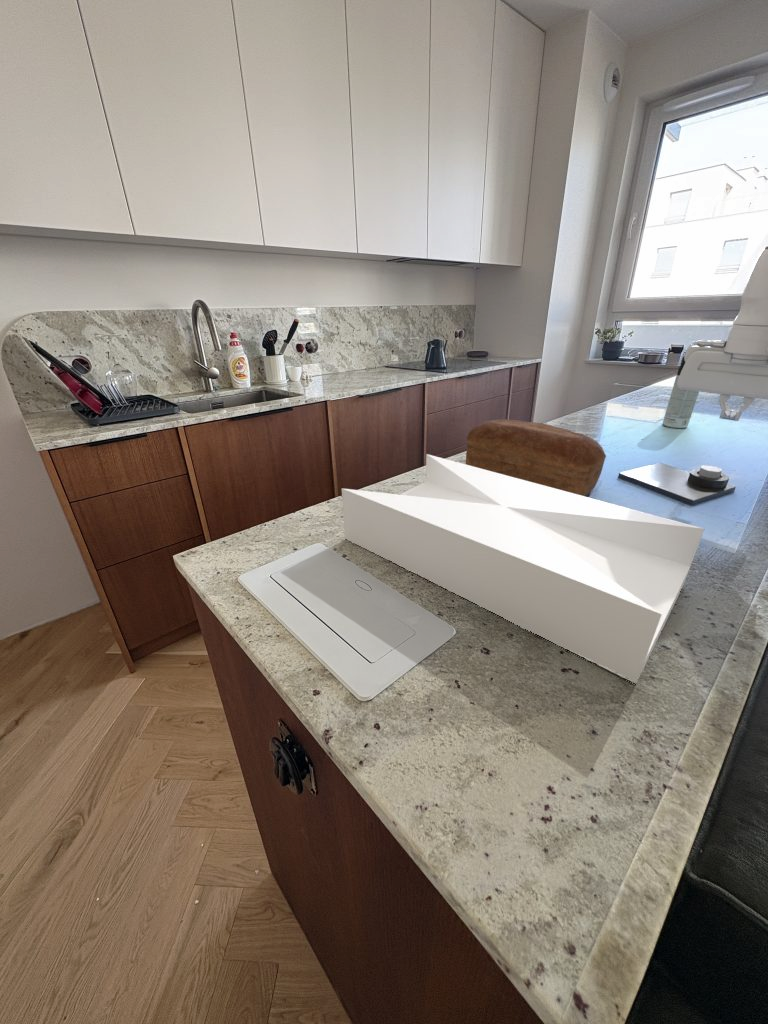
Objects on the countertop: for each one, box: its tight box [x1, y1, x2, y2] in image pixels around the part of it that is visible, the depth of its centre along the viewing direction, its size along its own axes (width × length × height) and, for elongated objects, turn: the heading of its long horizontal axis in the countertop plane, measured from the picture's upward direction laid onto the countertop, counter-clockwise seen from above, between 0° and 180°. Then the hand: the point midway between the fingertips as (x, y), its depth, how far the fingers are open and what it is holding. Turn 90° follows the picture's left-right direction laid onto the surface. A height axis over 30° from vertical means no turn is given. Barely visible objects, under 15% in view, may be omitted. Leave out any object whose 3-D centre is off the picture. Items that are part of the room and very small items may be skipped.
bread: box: [465, 418, 607, 497], centre depth 90 cm, size 14×28×12 cm, turn 46°
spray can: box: [662, 356, 700, 429], centre depth 124 cm, size 7×7×20 cm
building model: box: [341, 453, 705, 684], centre depth 63 cm, size 45×22×10 cm, turn 47°
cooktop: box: [617, 462, 737, 507], centre depth 89 cm, size 16×14×3 cm
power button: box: [699, 465, 723, 479], centre depth 86 cm, size 4×4×2 cm
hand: (728, 419), depth 81 cm, fingers closed
